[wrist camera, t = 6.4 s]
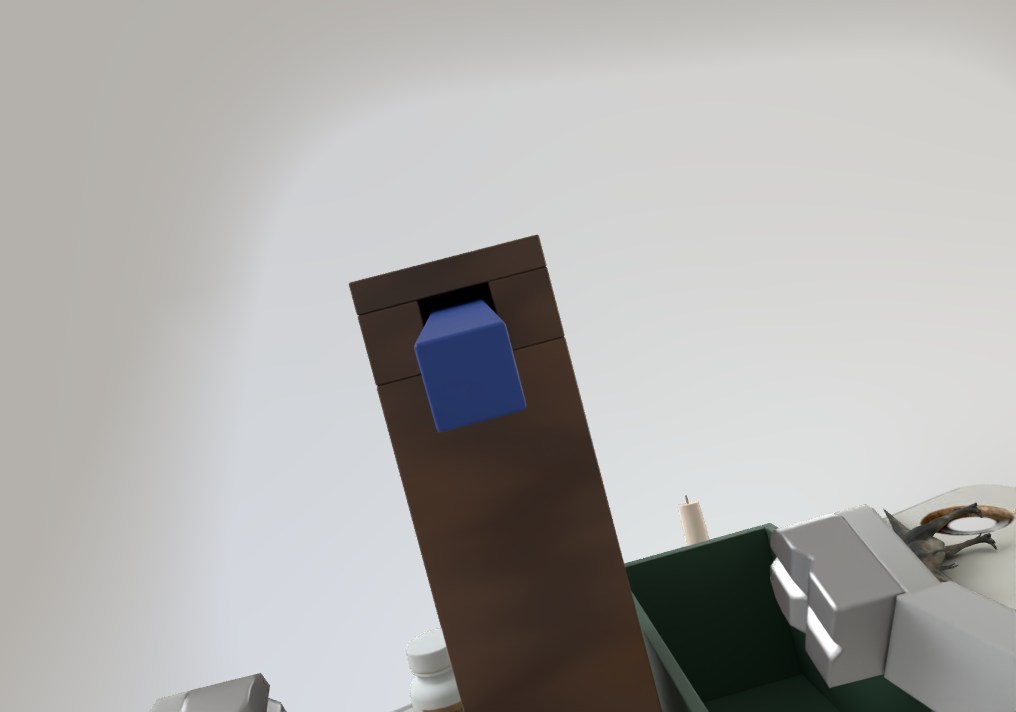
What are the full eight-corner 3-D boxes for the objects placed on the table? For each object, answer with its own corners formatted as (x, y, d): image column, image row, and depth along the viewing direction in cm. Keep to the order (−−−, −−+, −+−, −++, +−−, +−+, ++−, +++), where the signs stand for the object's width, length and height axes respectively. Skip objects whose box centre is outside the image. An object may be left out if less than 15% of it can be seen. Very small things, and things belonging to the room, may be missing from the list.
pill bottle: (449, 795, 40) (414, 666, 40) (419, 764, 44) (387, 646, 44) (513, 755, 42) (480, 632, 42) (479, 729, 46) (449, 616, 46)
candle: (679, 627, 53) (645, 494, 52) (748, 612, 52) (714, 478, 52) (692, 661, 48) (654, 513, 47) (769, 645, 47) (731, 495, 47)
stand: (546, 1019, 26) (348, 282, 25) (530, 874, 33) (375, 296, 32) (728, 962, 26) (538, 233, 25) (673, 831, 33) (524, 257, 32)
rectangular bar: (437, 434, 15) (412, 344, 15) (446, 350, 31) (434, 306, 31) (528, 410, 15) (505, 320, 15) (489, 338, 31) (478, 294, 31)
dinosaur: (1047, 593, 43) (928, 622, 46) (952, 508, 62) (871, 532, 65) (1022, 537, 44) (905, 570, 46) (935, 470, 63) (855, 495, 65)
